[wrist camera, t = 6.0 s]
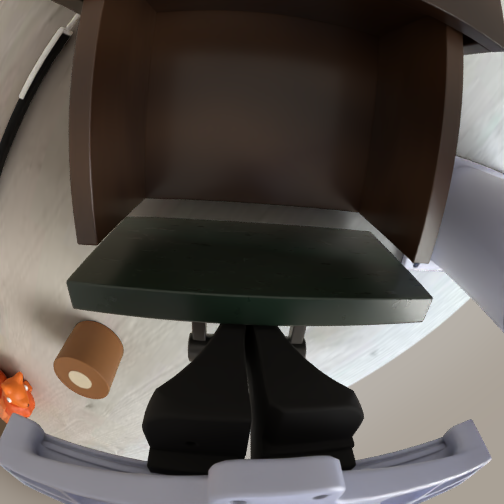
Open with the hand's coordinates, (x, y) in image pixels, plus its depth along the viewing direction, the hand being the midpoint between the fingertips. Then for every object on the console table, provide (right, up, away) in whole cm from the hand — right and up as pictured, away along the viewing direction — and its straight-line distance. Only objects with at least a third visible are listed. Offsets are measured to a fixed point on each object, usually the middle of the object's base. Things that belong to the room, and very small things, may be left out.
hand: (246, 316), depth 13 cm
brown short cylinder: (-12, -4, +7) cm, 14 cm away
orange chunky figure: (-27, -12, +10) cm, 32 cm away
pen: (-15, +10, 0) cm, 18 cm away
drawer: (0, +7, +1) cm, 7 cm away
